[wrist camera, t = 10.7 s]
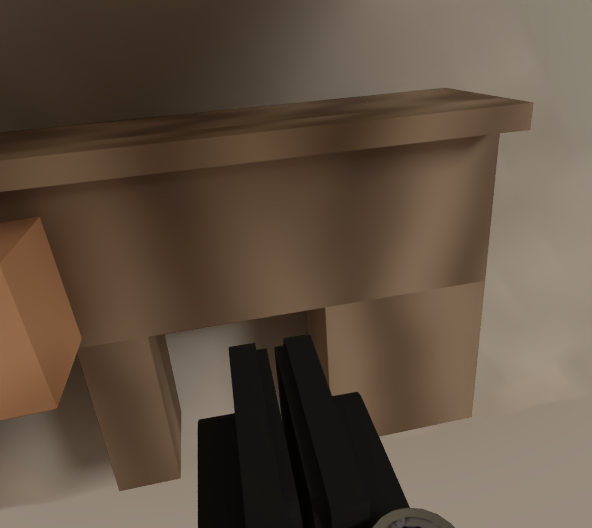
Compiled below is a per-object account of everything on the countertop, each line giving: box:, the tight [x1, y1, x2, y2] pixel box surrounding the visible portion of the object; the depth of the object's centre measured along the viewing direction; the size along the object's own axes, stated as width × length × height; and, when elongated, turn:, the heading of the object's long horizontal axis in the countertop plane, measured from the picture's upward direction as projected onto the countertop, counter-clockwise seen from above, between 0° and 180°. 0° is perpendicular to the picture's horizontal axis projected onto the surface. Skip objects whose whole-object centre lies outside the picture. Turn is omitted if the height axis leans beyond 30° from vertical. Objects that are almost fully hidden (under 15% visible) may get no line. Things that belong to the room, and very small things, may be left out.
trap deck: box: [0, 88, 533, 491], centre depth 23 cm, size 28×17×8 cm, turn 95°
